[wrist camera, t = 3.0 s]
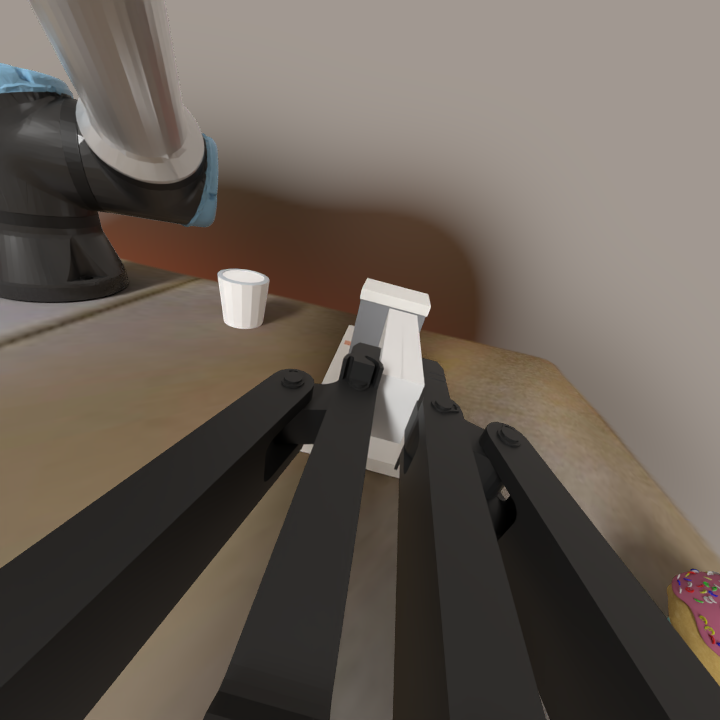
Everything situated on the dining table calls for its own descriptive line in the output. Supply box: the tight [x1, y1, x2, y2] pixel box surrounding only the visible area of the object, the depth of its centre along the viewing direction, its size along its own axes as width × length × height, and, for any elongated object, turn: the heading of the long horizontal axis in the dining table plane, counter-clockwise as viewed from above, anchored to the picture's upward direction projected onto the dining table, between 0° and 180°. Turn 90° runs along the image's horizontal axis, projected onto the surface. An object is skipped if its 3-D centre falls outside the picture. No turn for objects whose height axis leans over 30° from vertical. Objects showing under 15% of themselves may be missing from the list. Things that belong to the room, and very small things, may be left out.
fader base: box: [300, 325, 404, 478], centre depth 36 cm, size 26×10×2 cm, turn 171°
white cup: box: [217, 269, 269, 329], centre depth 41 cm, size 7×7×7 cm
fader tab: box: [348, 278, 431, 354], centre depth 25 cm, size 3×5×13 cm, turn 81°
